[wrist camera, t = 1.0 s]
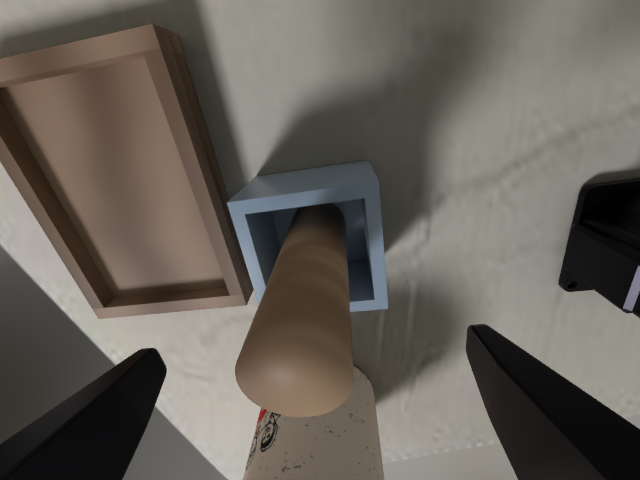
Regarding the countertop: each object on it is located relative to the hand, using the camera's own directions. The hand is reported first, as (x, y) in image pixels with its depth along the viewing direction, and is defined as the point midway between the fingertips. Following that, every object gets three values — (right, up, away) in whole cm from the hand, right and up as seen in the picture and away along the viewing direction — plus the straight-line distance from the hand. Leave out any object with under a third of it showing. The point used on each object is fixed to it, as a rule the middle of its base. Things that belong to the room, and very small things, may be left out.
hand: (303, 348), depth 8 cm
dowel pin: (0, +4, +8) cm, 9 cm away
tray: (-10, +6, +9) cm, 14 cm away
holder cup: (0, +4, +9) cm, 10 cm away
